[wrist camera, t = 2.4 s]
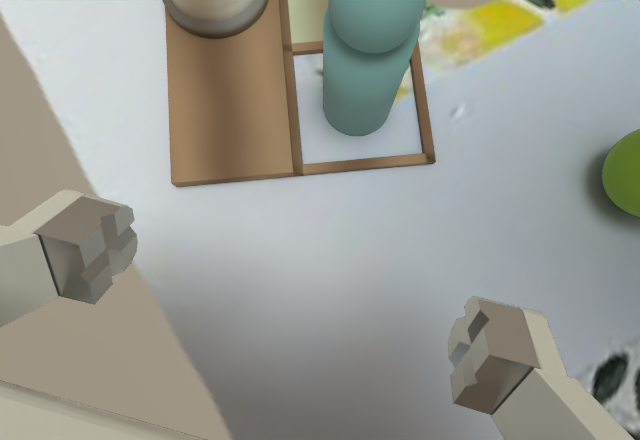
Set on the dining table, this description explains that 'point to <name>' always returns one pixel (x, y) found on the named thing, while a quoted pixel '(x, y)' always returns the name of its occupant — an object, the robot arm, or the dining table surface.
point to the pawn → (366, 59)
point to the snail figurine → (624, 174)
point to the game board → (251, 91)
